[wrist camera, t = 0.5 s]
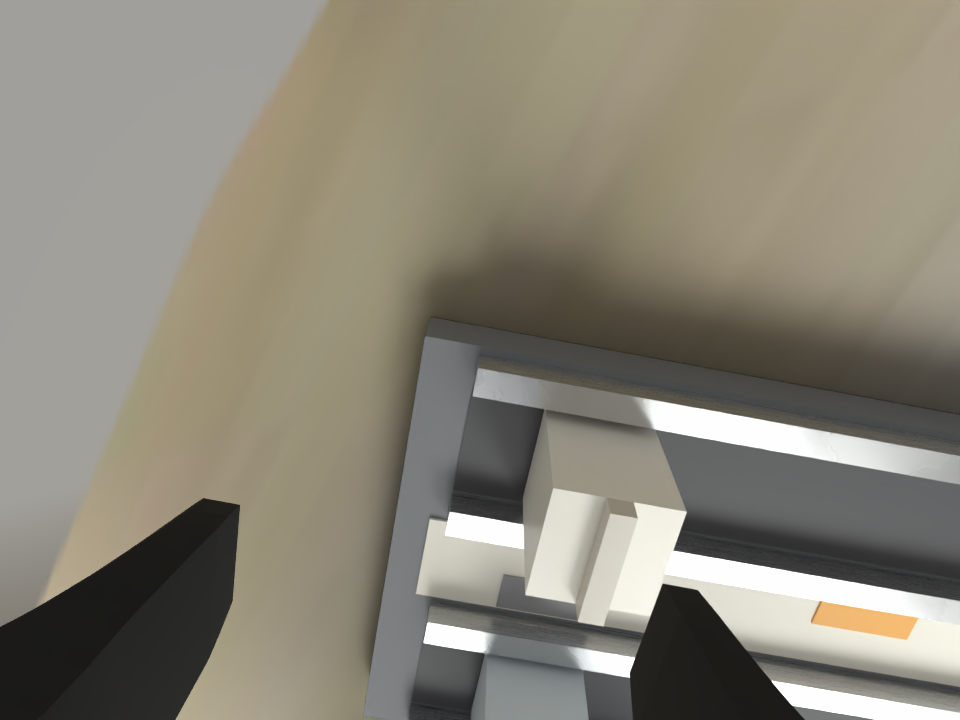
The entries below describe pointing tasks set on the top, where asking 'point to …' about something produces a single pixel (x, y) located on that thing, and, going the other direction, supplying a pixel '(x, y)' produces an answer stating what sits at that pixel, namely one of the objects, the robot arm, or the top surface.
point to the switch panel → (702, 539)
